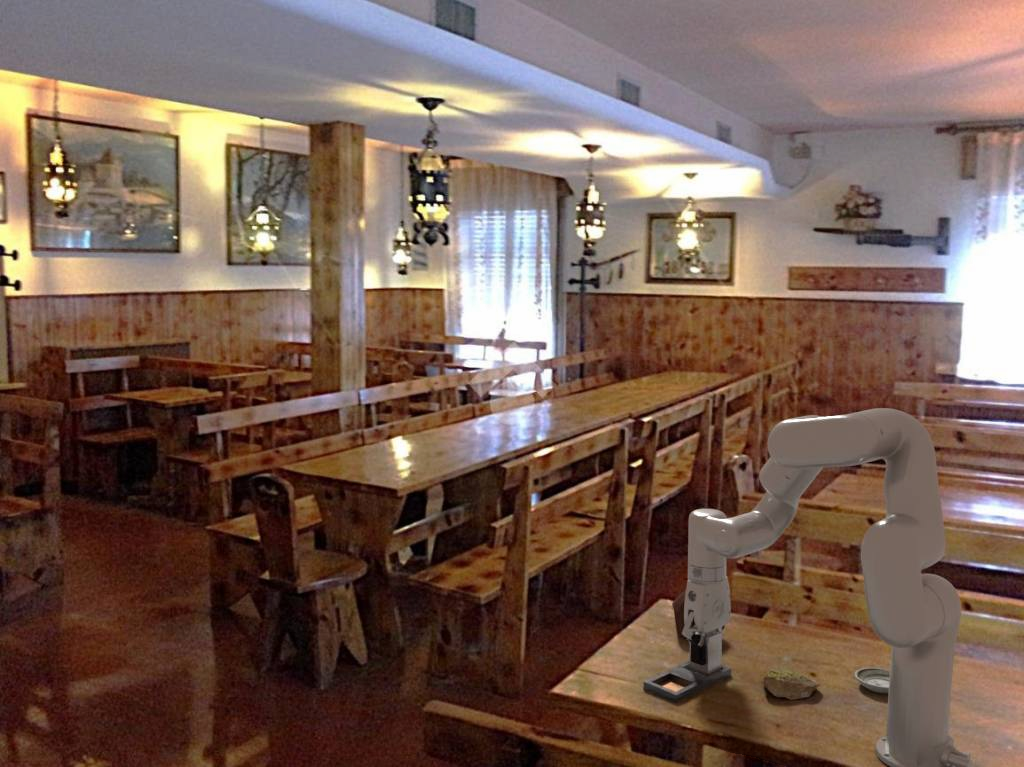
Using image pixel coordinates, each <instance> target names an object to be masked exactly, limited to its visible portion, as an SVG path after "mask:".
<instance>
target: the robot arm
mask: <svg viewBox="0 0 1024 767" xmlns="http://www.w3.org/2000/svg"><path fill="white" fill-rule="evenodd" d="M767 451H768V454H769V458H768V459H767V461H766V463H765V464H763V466H762V467H761V469H760V471H759V474H758V478H759V482H760V484H761V486H762V487H763V489H764V490H765V494H764V495H763V496H762V498H761V499H760V500H759V501H758V503H757V504H756V506H755V507H754V508H753V509H752V510H751V511H750V512H747V513H743V514H739V515H736V516H732V517H727V515H726V514H725V513H724V512H723V511H721V510H719V509H715V508H699V509H695V510H693V511H691V512H690V513H689V516H688V526H687V527H688V528H687V529H688V534H687V535H688V536H687V539H688V541H687V542H688V544H687V552H688V553H687V579H688V580H687V583H686V588H685V591H686V594H685V605H684V624H685V626H684V629H683V631H682V635H684V636H685V637H687V639H688V643H689V644H690V643H691V653H690V652H689V661H690V660H691V662H693V663H696V664H699V665H702V666H703V665H705V646H704V645H703V643H704V637H705V633H708V632H711V631H713V630H717V631H720V632H722V637H723V636H724V633H723V631H724V629H725V627H726V625H728V624H729V623H730V622H731V619H732V618H731V614H732V612H731V610H732V609H731V591H730V583H729V579H728V576H727V559H738V558H742V557H745V556H747V555H750V554H753V553H756V552H759V551H762V550H765V549H767V548H768V547H770V546H772V545H774V543H775V542H776V541H778V539H779V538H780V537H781V536H782V535H783V533H785V532H786V531H785V530H786V529H787V528H788V527H789V526H790V524H791V523H792V522H793V520H794V518H795V516H796V514H797V511H798V508H799V503H800V498H801V496H802V495H803V494H804V493H805V491H806V490H807V488H809V486H810V485H811V484H812V482H813V481H814V480H815V479H816V478H817V476H818V475H819V474H820V472H821V471H822V470H824V468H838V467H839V468H840V467H841V468H842V467H852V466H858V465H859V466H860V465H864V464H867V463H869V462H875V461H878V460H881V459H882V460H884V462H885V472H884V477H883V485H882V486H883V495H884V503H885V504H884V505H885V518H883V519H881V520H879V521H876V522H875V523H873V524H872V525H870V527H869V528H868V529H867V530H866V532H865V534H864V536H863V538H862V540H861V541H862V542H861V547H860V548H861V549H860V560H861V562H860V563H861V569H862V579H863V586H864V588H863V589H864V594H865V602H866V603H865V605H866V610H867V616H868V619H869V620H868V621H869V622H870V626H871V628H872V630H873V631H874V633H875V635H877V637H878V638H879V639H880V640H881V641H883V643H885V644H886V645H888V646H891V653H890V664H889V670H890V677H889V693H888V694H887V695H888V696H887V697H888V698H887V713H886V714H887V717H886V729H885V730H886V733H885V736H883V737H880V738H879V739H878V740H877V742H876V744H875V754H876V756H877V757H878V758H879V760H880V761H881V762H882V763H884V764H885V765H887V766H889V767H973V760H972V759H971V754H970V753H969V752H966V751H963V750H960V749H957V748H956V746H955V738H954V737H953V736H950V735H949V731H950V730H949V727H950V726H949V725H950V712H951V711H950V710H951V698H952V685H953V684H952V683H953V682H952V681H953V680H952V679H953V672H954V671H953V669H954V659H955V658H954V657H955V649H956V643H957V642H956V641H957V637H958V634H959V628H960V625H961V624H960V623H961V618H962V601H961V597H960V595H959V593H958V590H957V589H956V588H955V587H954V585H953V584H952V583H951V582H950V581H948V580H947V579H946V578H944V577H942V576H940V575H938V574H933V573H922V571H923V570H925V569H927V568H930V567H931V566H933V565H935V564H936V563H938V562H939V561H941V559H942V558H943V557H944V555H945V553H946V549H947V548H946V547H947V540H946V539H947V538H946V531H945V525H944V523H945V522H944V517H943V516H944V515H943V507H942V501H941V494H940V488H939V479H938V468H937V457H936V456H937V455H936V450H935V446H934V442H933V440H932V437H931V435H930V433H929V432H928V430H927V429H926V427H925V426H924V425H923V424H922V423H921V422H920V421H919V420H918V419H917V418H915V417H914V416H913V415H911V414H909V413H907V412H905V411H902V410H898V409H896V408H885V407H884V408H883V407H881V408H880V407H879V408H871V409H866V410H862V411H857V412H856V411H855V412H851V413H847V414H840V415H832V416H821V415H817V414H813V415H811V414H810V415H804V416H798V417H792V418H788V419H784V420H782V421H780V422H779V423H777V424H776V425H775V426H774V427H773V428H772V430H771V431H770V433H769V435H768V438H767ZM696 632H698V633H699V638H698V637H697V635H695V633H696Z"/></svg>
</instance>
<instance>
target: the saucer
mask: <svg viewBox="0 0 1024 767" xmlns="http://www.w3.org/2000/svg"><path fill="white" fill-rule="evenodd" d="M853 674H854V678H855V680H856V681H857V682H859V684H860V685H862V686H863V687H864V688H867V689H868V690H869V691H870V692H873V693H876V694H877V693H878V694H884V695H885V694H887V695H888V694H889V677H890V669H886V668H880V667H862V668H859V669H857V670H855V672H854V673H853Z"/></svg>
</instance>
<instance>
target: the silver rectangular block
mask: <svg viewBox="0 0 1024 767" xmlns="http://www.w3.org/2000/svg"><path fill="white" fill-rule="evenodd" d="M722 632H723V631H722ZM722 632H720V631H717V630H713V631H711V632H708V633H705V637H704V643H703V645H704V646H705V665H703V666H702V665H699V664H696V663H693V662H691V660H690V659H689V661H690V671H693V672H695V673H698V674H701V675H703V676H706V677H707V676H709V675H711V674H714V673H716V672H718V671H720V670H721V665H722V657H723V656H722V652H723V651H722V649H723V648H722V647H723V645H722V644H723V636H722ZM695 635H697V637H698V638H699V633H698V632H696V633H695ZM690 653H691V643H689V654H690Z"/></svg>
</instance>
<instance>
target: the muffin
mask: <svg viewBox="0 0 1024 767" xmlns="http://www.w3.org/2000/svg"><path fill="white" fill-rule="evenodd" d="M685 594H686V590H684V591H682V592H681V593H680V594H679V595H677V597H676V598H675V599H674V600H673V601H672V603H671V606H672V609H673V615H674V620H675V621H674V622H675V628H676V630H675V631H676V635H677V636H679V637H680V636H681V638H682V639H683V640H686V639H687V637H685V636H684V635H682V631H683V629H684V626H685V624H684V605H685Z"/></svg>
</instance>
